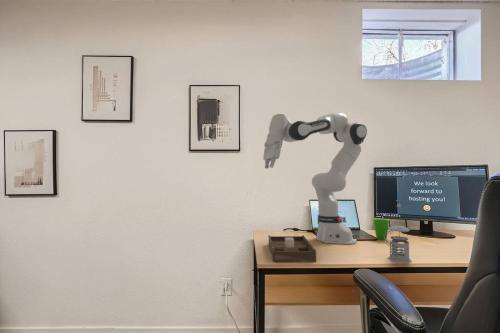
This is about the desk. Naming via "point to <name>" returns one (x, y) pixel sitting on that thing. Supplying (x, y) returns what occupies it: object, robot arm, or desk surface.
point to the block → (289, 242)
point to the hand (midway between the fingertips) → (268, 167)
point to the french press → (399, 245)
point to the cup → (381, 228)
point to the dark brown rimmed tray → (291, 249)
